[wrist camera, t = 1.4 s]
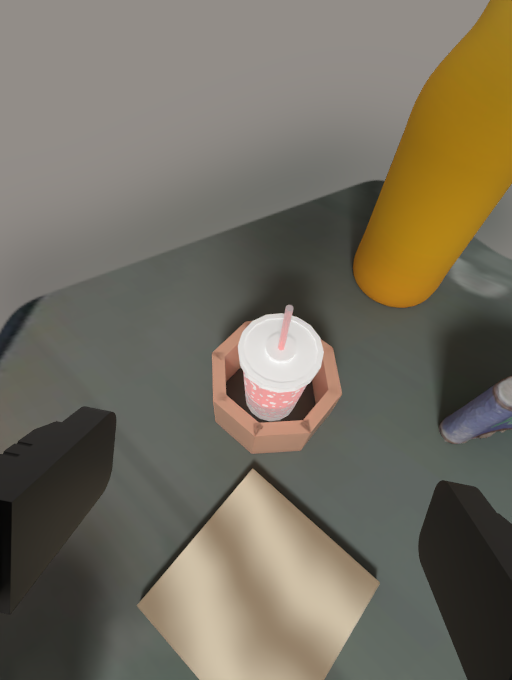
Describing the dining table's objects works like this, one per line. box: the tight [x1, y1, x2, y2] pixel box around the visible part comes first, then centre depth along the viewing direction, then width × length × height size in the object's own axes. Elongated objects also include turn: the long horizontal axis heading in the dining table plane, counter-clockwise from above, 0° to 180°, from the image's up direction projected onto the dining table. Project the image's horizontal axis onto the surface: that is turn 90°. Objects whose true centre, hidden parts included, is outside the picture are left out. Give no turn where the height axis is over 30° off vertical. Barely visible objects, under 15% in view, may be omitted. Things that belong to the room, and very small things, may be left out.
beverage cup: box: [238, 305, 324, 421], centre depth 29 cm, size 6×6×14 cm
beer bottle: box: [353, 0, 512, 308], centre depth 31 cm, size 9×9×29 cm
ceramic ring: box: [212, 321, 342, 454], centre depth 33 cm, size 10×10×5 cm
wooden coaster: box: [137, 469, 380, 680], centre depth 27 cm, size 12×12×1 cm
